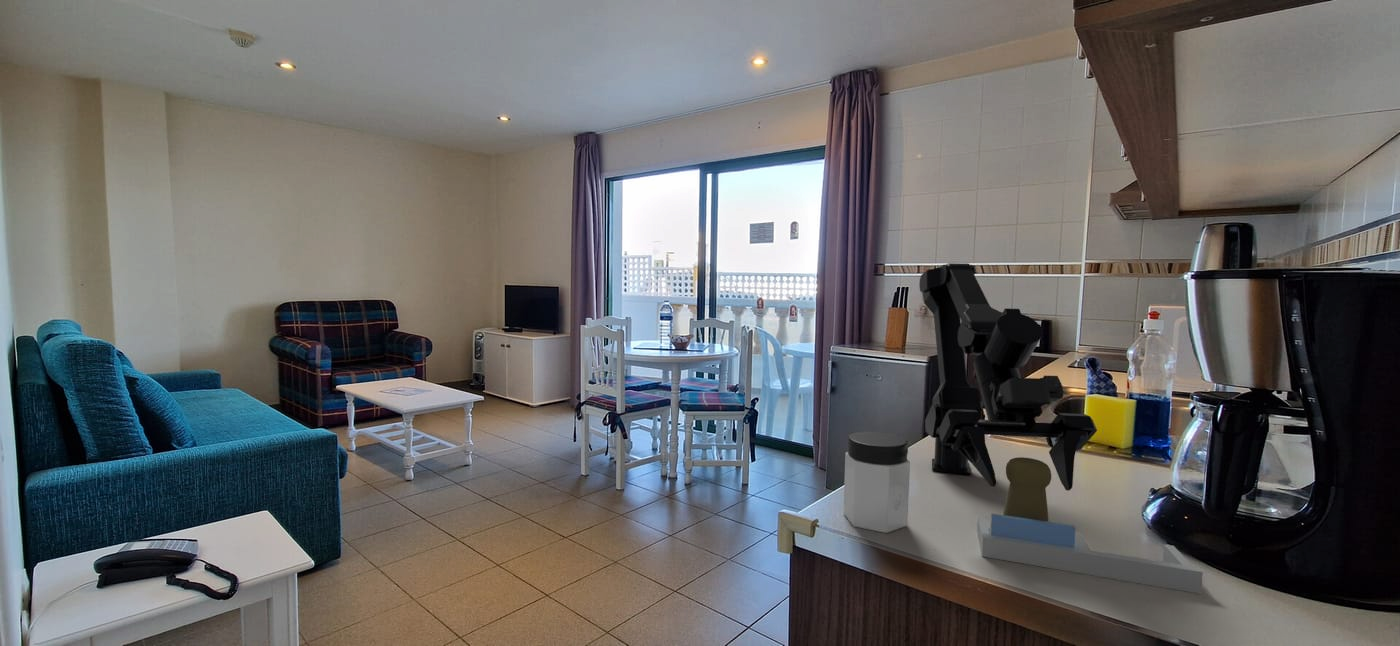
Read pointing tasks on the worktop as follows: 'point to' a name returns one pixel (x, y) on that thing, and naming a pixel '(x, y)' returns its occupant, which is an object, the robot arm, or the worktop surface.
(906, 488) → the jar
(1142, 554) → the worktop surface
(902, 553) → the worktop surface
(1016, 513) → the cork
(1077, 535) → the shallow tray
